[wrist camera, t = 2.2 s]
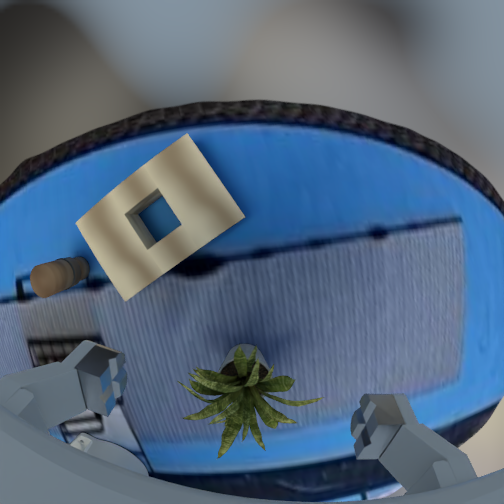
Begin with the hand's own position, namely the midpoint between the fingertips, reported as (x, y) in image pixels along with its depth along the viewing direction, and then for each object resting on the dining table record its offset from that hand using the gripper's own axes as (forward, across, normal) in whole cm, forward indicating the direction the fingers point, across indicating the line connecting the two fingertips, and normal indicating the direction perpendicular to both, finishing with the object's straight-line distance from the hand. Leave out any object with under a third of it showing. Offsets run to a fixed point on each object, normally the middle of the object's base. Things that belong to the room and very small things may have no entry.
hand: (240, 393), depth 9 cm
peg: (+28, -26, -10) cm, 39 cm away
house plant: (+29, +1, -18) cm, 34 cm away
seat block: (+30, -14, -1) cm, 33 cm away
